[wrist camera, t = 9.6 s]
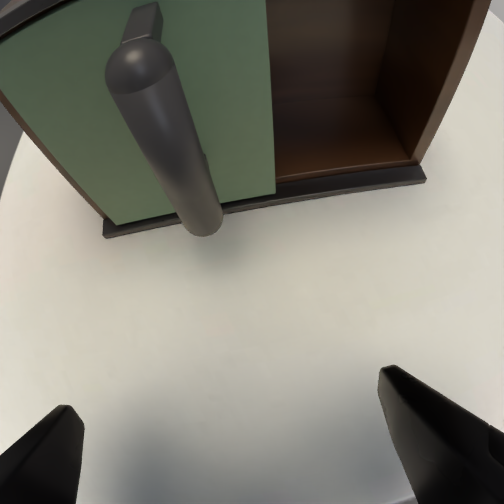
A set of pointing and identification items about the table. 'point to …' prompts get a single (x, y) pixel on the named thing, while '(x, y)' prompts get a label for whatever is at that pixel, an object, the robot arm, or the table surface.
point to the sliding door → (150, 102)
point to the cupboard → (335, 93)
